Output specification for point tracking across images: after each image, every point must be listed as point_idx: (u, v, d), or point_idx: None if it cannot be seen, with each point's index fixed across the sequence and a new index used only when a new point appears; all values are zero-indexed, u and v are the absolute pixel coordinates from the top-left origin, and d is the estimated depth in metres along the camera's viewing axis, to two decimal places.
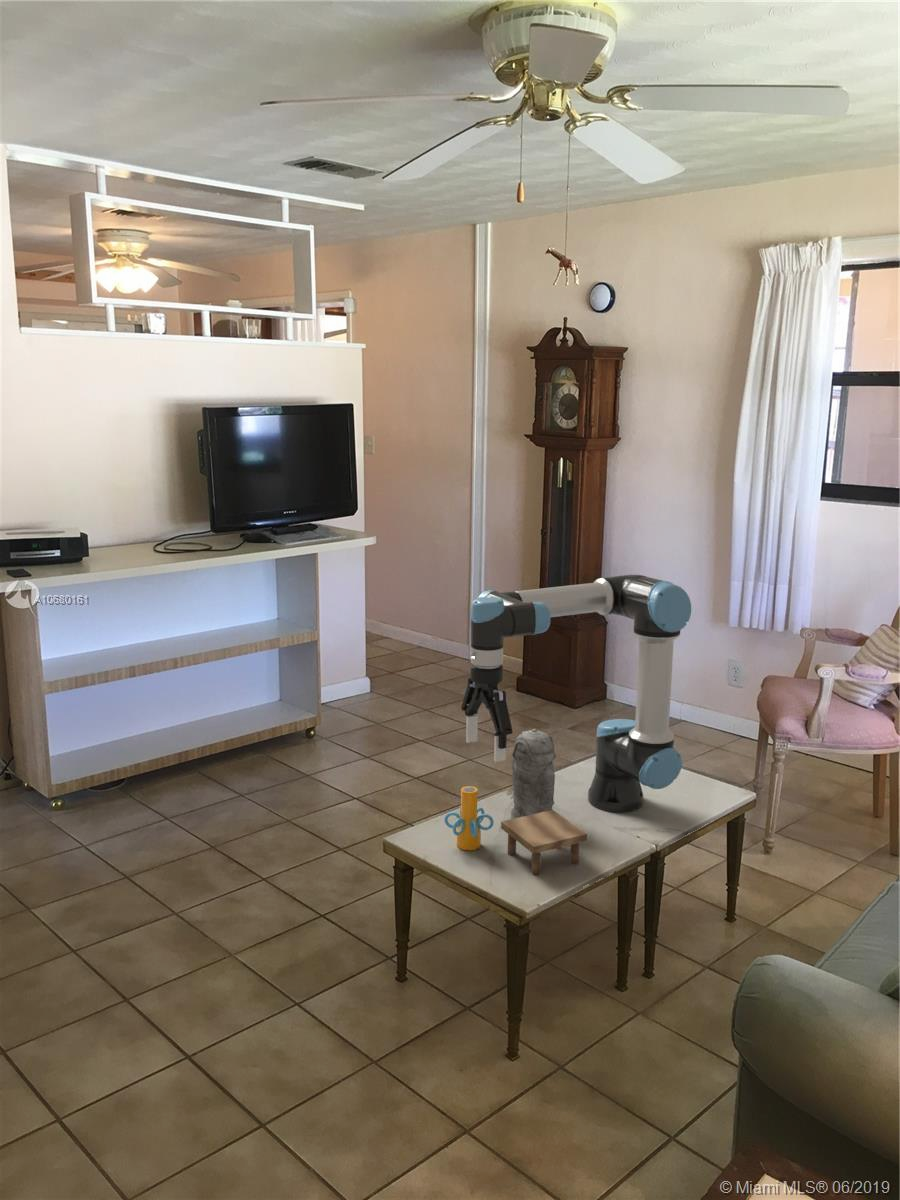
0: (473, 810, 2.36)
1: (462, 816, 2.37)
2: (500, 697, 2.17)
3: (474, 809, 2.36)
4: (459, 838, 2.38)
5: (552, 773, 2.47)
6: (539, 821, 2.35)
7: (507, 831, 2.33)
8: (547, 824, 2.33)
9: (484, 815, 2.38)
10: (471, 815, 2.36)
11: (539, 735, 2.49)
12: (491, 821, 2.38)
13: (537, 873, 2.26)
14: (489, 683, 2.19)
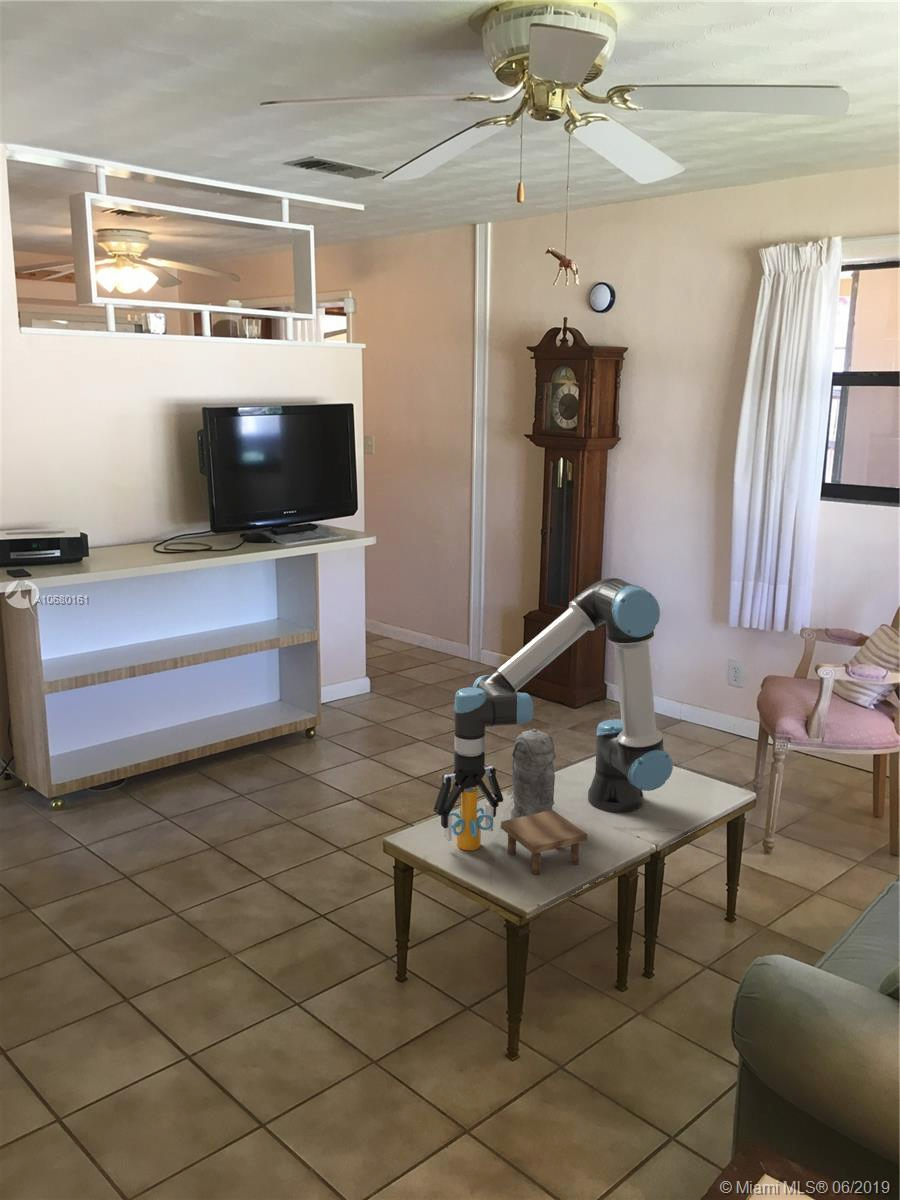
0: (473, 810, 2.36)
1: (462, 816, 2.37)
2: (444, 780, 2.33)
3: (474, 809, 2.36)
4: (459, 838, 2.38)
5: (552, 773, 2.47)
6: (539, 821, 2.35)
7: (507, 831, 2.33)
8: (547, 824, 2.33)
9: (484, 815, 2.38)
10: (471, 815, 2.36)
11: (539, 735, 2.49)
12: (491, 821, 2.38)
13: (537, 873, 2.26)
14: (454, 765, 2.35)
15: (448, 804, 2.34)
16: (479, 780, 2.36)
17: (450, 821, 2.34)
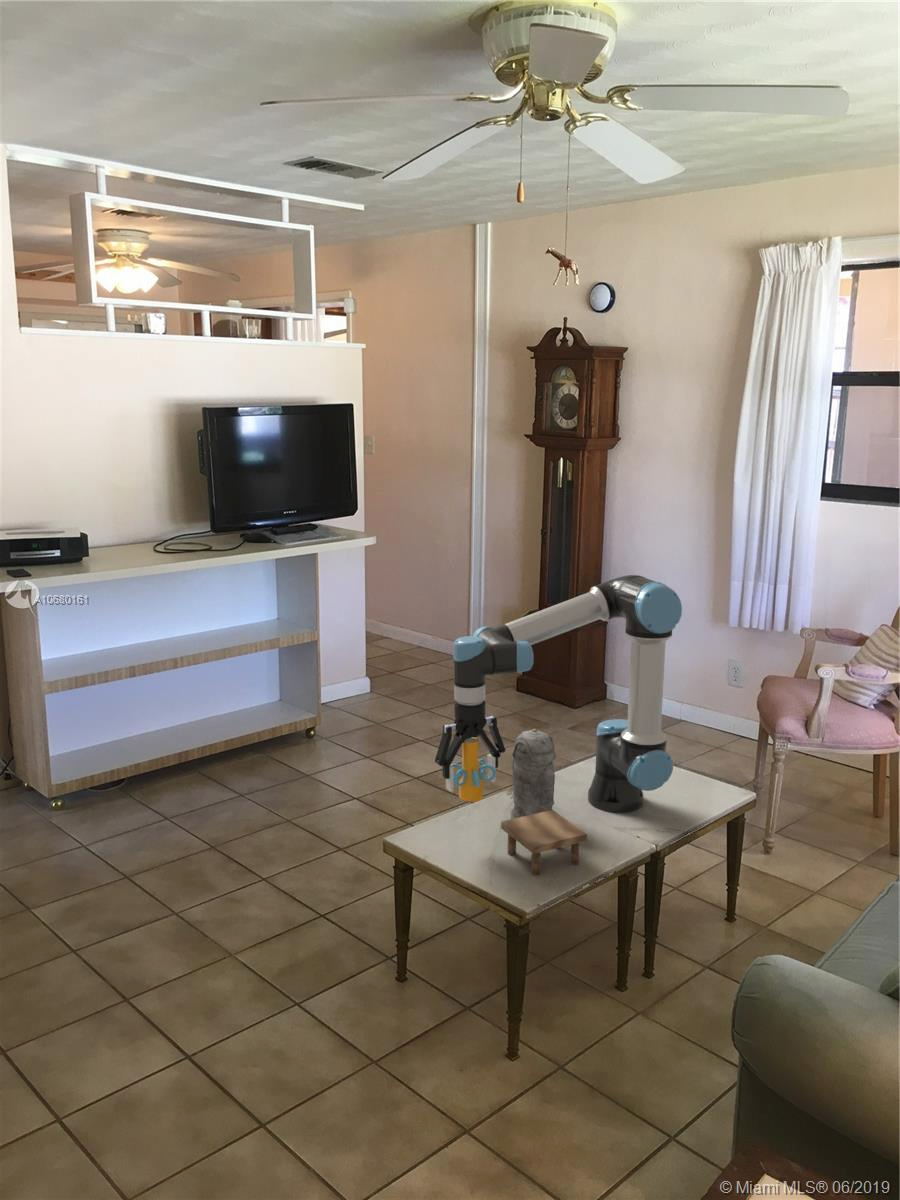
0: (475, 761, 2.34)
1: (464, 767, 2.34)
2: (444, 730, 2.30)
3: (476, 760, 2.34)
4: (461, 789, 2.35)
5: (552, 773, 2.47)
6: (539, 821, 2.35)
7: (507, 831, 2.33)
8: (547, 824, 2.33)
9: (486, 766, 2.35)
10: (473, 766, 2.34)
11: (540, 735, 2.49)
12: (493, 771, 2.35)
13: (537, 873, 2.26)
14: None
15: (450, 754, 2.31)
16: (480, 730, 2.33)
17: (452, 772, 2.32)
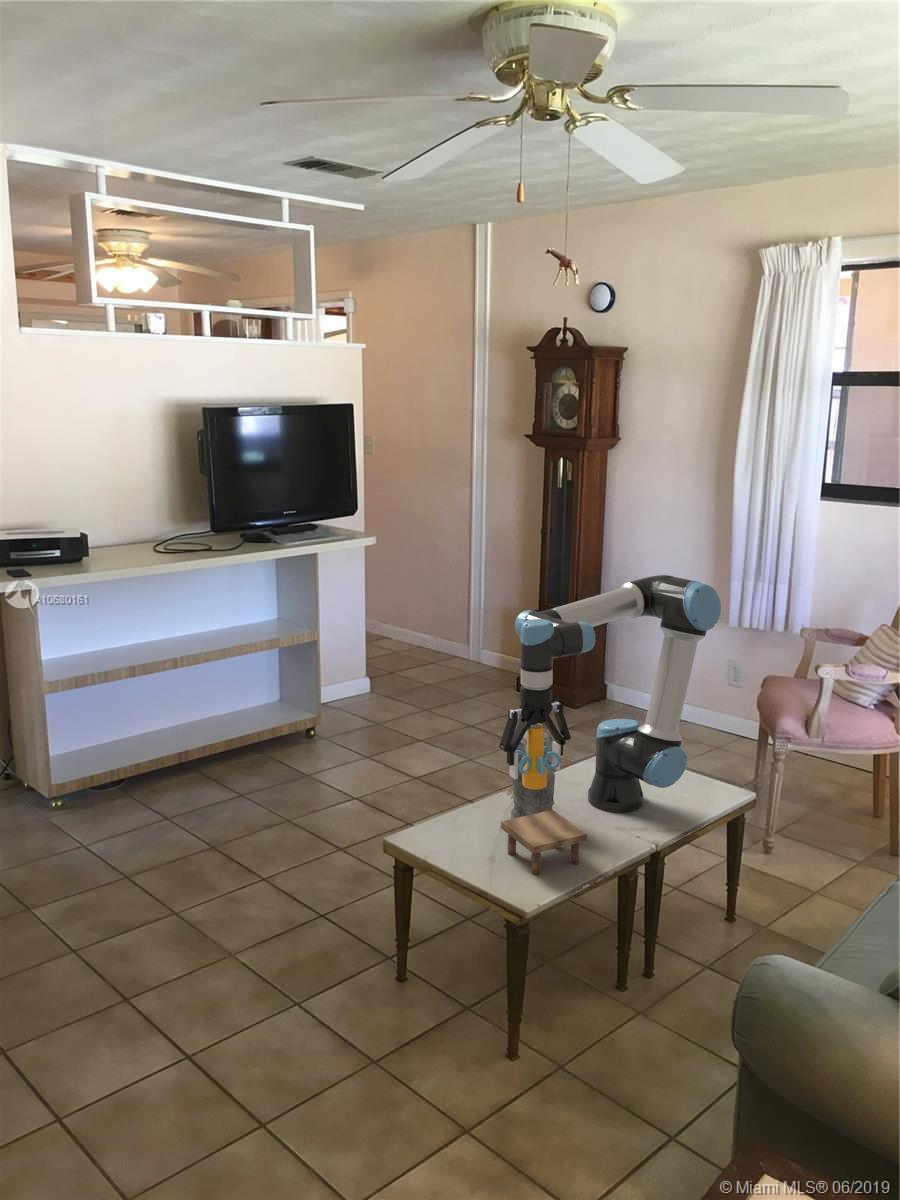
0: (540, 747, 2.27)
1: (528, 754, 2.28)
2: (510, 715, 2.24)
3: (541, 746, 2.27)
4: (525, 777, 2.28)
5: (552, 773, 2.47)
6: (539, 821, 2.35)
7: (507, 831, 2.33)
8: (547, 824, 2.33)
9: (551, 753, 2.28)
10: (538, 752, 2.27)
11: None
12: (558, 759, 2.28)
13: (537, 873, 2.26)
14: (520, 700, 2.26)
15: (515, 740, 2.25)
16: (546, 716, 2.26)
17: (516, 758, 2.25)
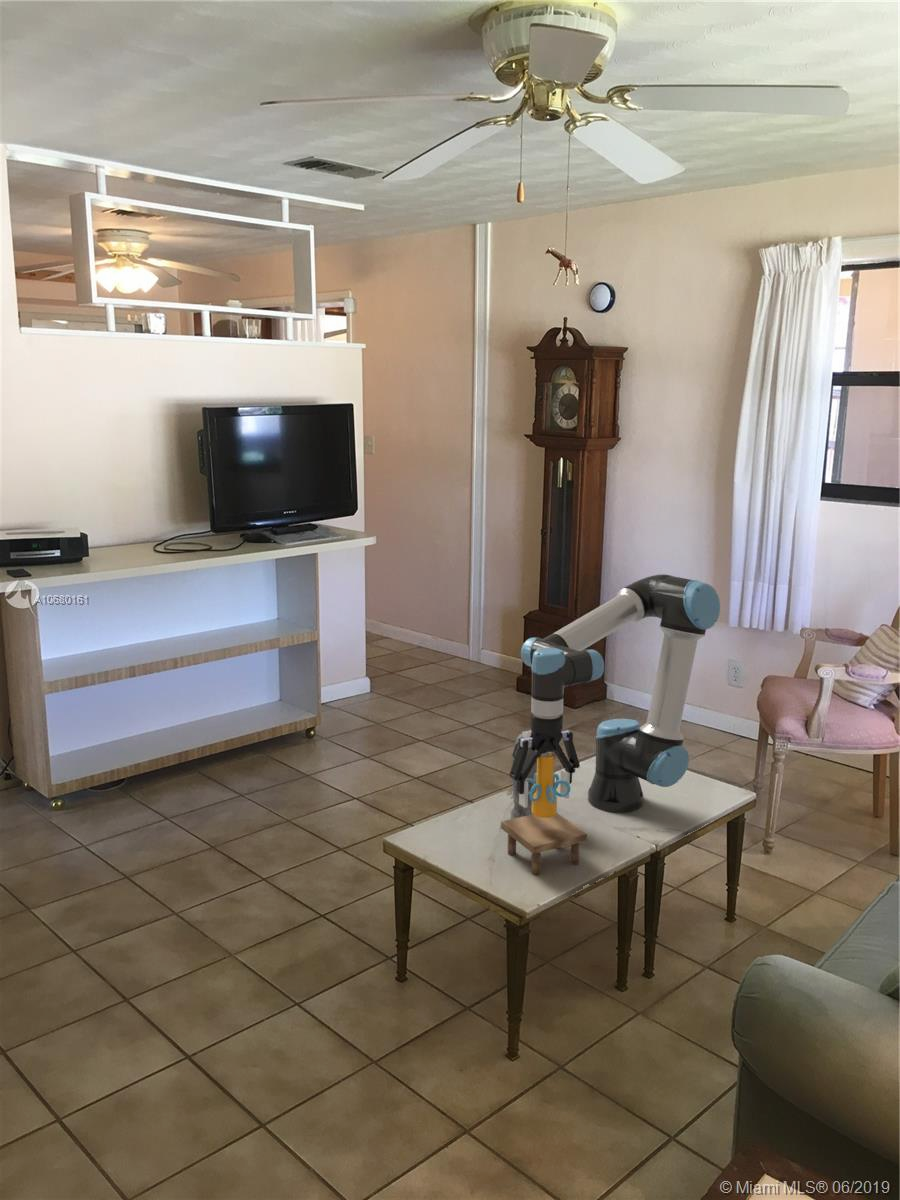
0: (550, 776, 2.27)
1: (538, 782, 2.28)
2: (520, 744, 2.24)
3: (551, 775, 2.27)
4: (535, 805, 2.29)
5: None
6: (539, 821, 2.35)
7: (507, 831, 2.33)
8: (547, 824, 2.33)
9: (561, 781, 2.29)
10: (548, 781, 2.27)
11: None
12: (568, 787, 2.29)
13: (537, 873, 2.26)
14: None
15: (525, 769, 2.25)
16: (556, 744, 2.27)
17: (526, 787, 2.26)
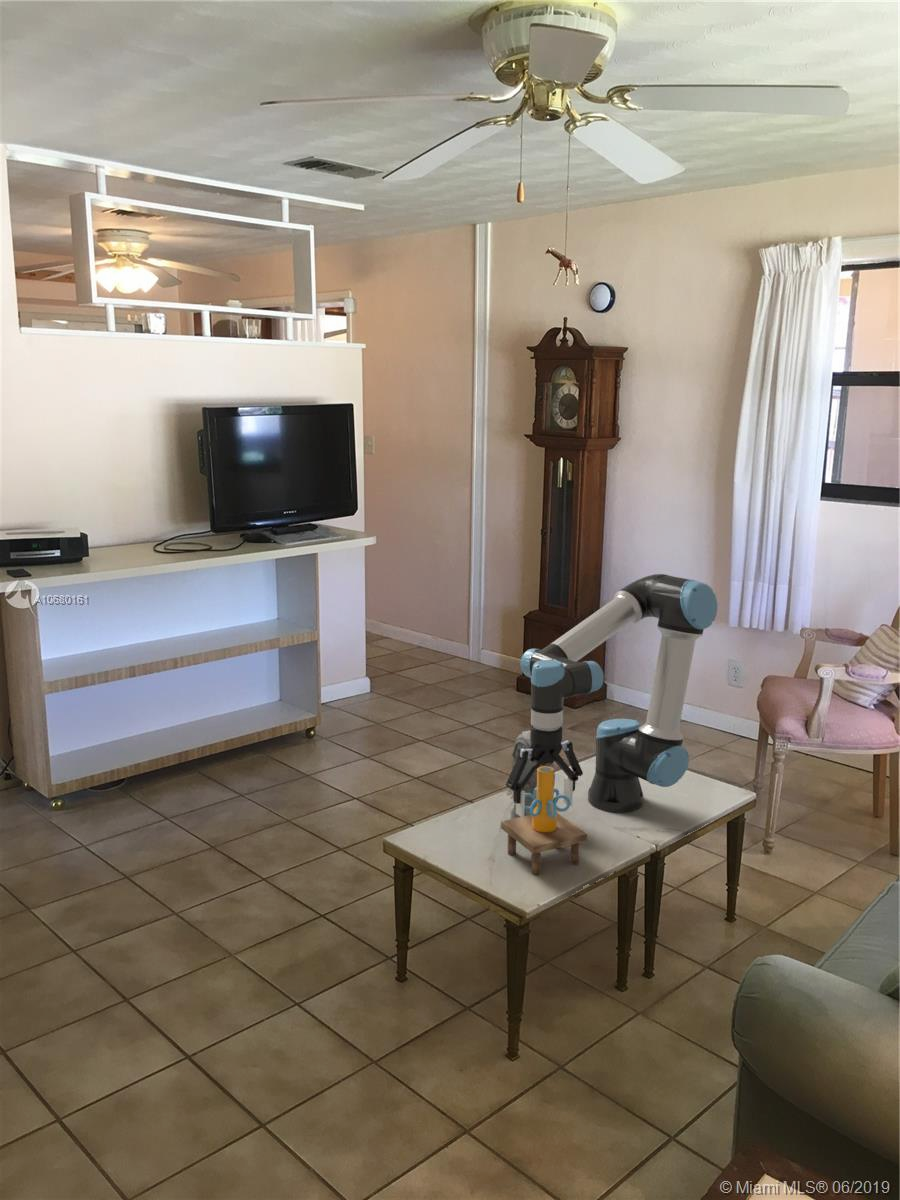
0: (550, 791, 2.28)
1: (538, 797, 2.29)
2: (520, 754, 2.25)
3: (551, 790, 2.28)
4: (535, 820, 2.30)
5: None
6: None
7: (507, 831, 2.33)
8: None
9: (561, 796, 2.30)
10: (548, 796, 2.28)
11: None
12: (568, 802, 2.30)
13: (537, 873, 2.26)
14: None
15: (522, 778, 2.25)
16: (556, 755, 2.27)
17: (523, 796, 2.26)
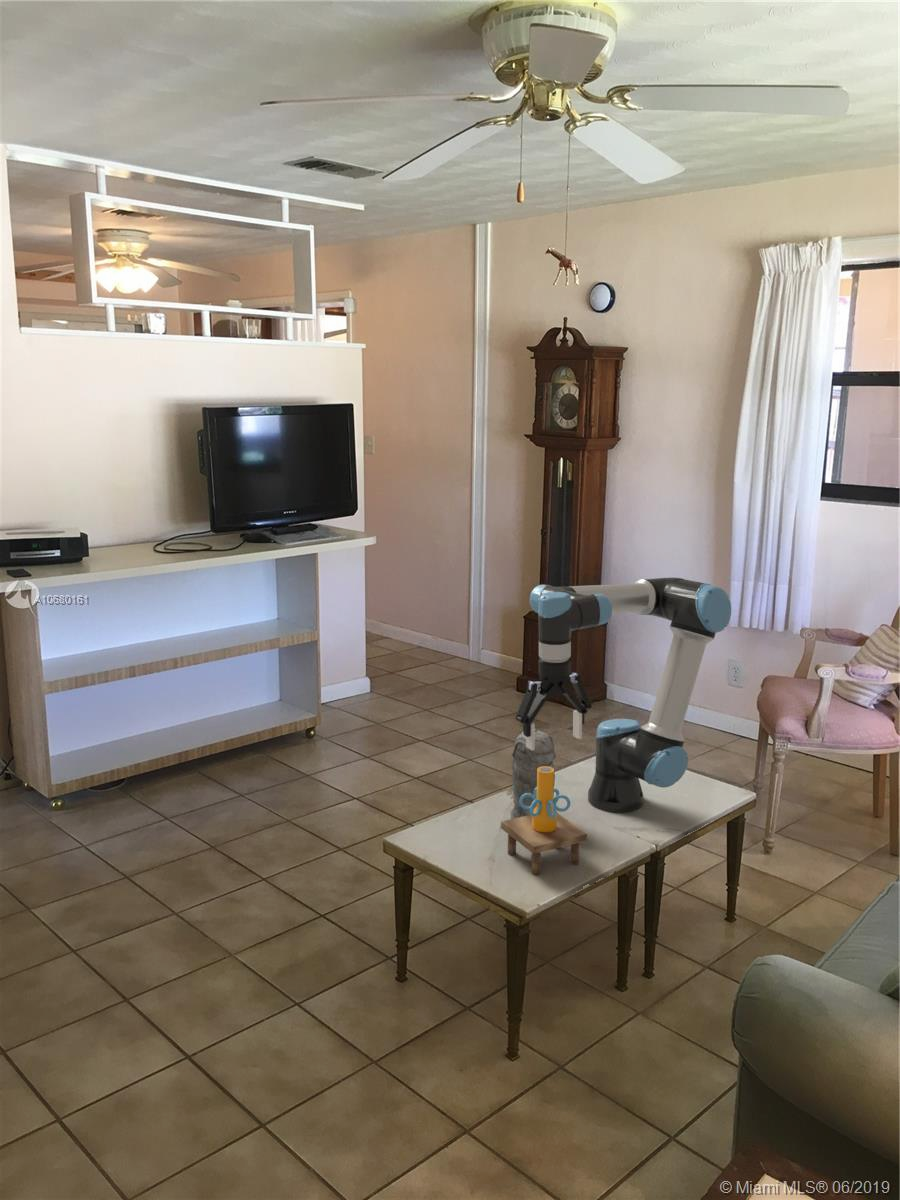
0: (550, 791, 2.28)
1: (538, 797, 2.29)
2: (529, 686, 2.24)
3: (551, 790, 2.28)
4: (535, 820, 2.30)
5: None
6: None
7: (507, 831, 2.33)
8: None
9: (561, 796, 2.30)
10: (548, 796, 2.28)
11: (539, 735, 2.49)
12: (568, 802, 2.30)
13: (537, 873, 2.26)
14: (539, 673, 2.26)
15: (532, 711, 2.25)
16: (565, 688, 2.27)
17: (533, 729, 2.25)
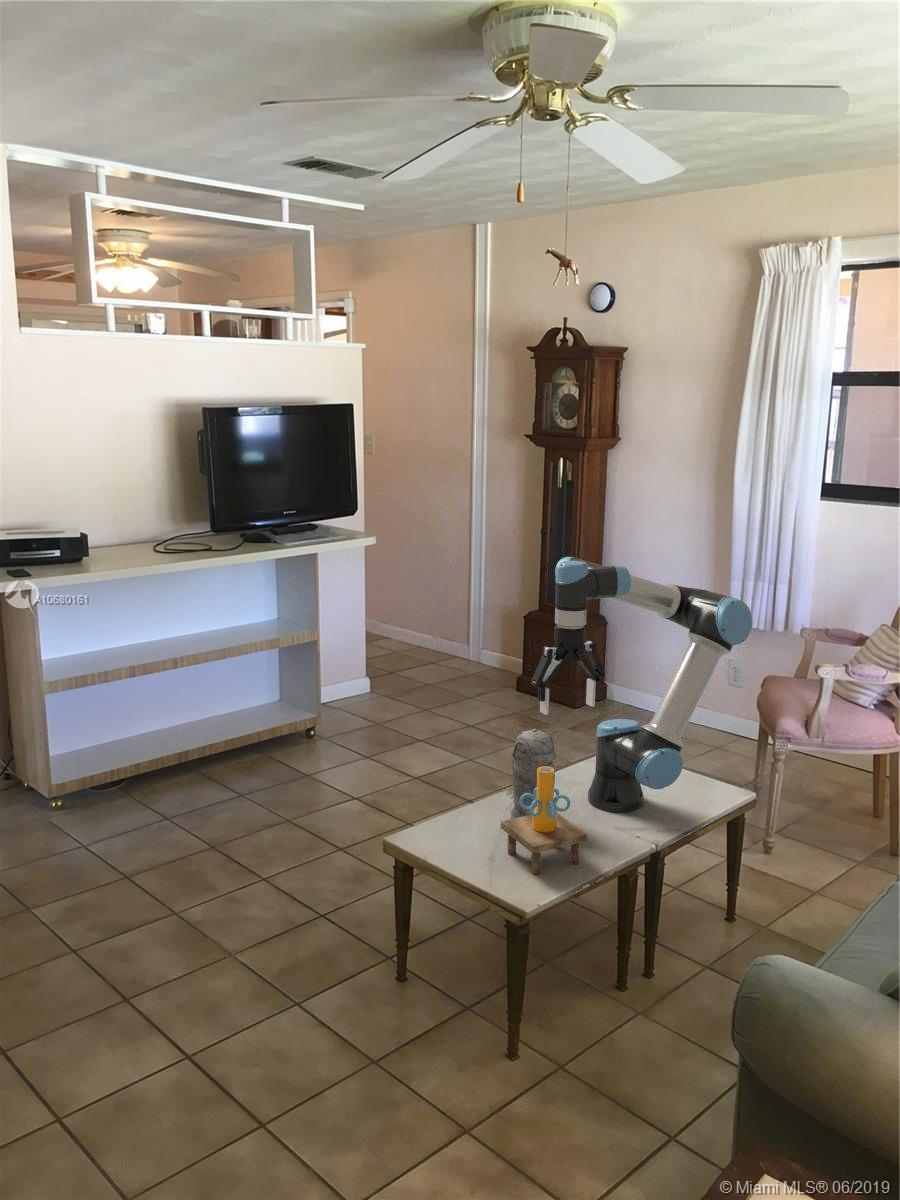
0: (550, 791, 2.28)
1: (538, 797, 2.29)
2: (545, 652, 2.30)
3: (551, 790, 2.28)
4: (535, 820, 2.30)
5: None
6: None
7: (507, 831, 2.33)
8: None
9: (561, 796, 2.30)
10: (548, 796, 2.28)
11: (539, 735, 2.49)
12: (568, 802, 2.30)
13: (537, 873, 2.26)
14: None
15: (547, 676, 2.30)
16: (580, 655, 2.32)
17: (547, 694, 2.31)
